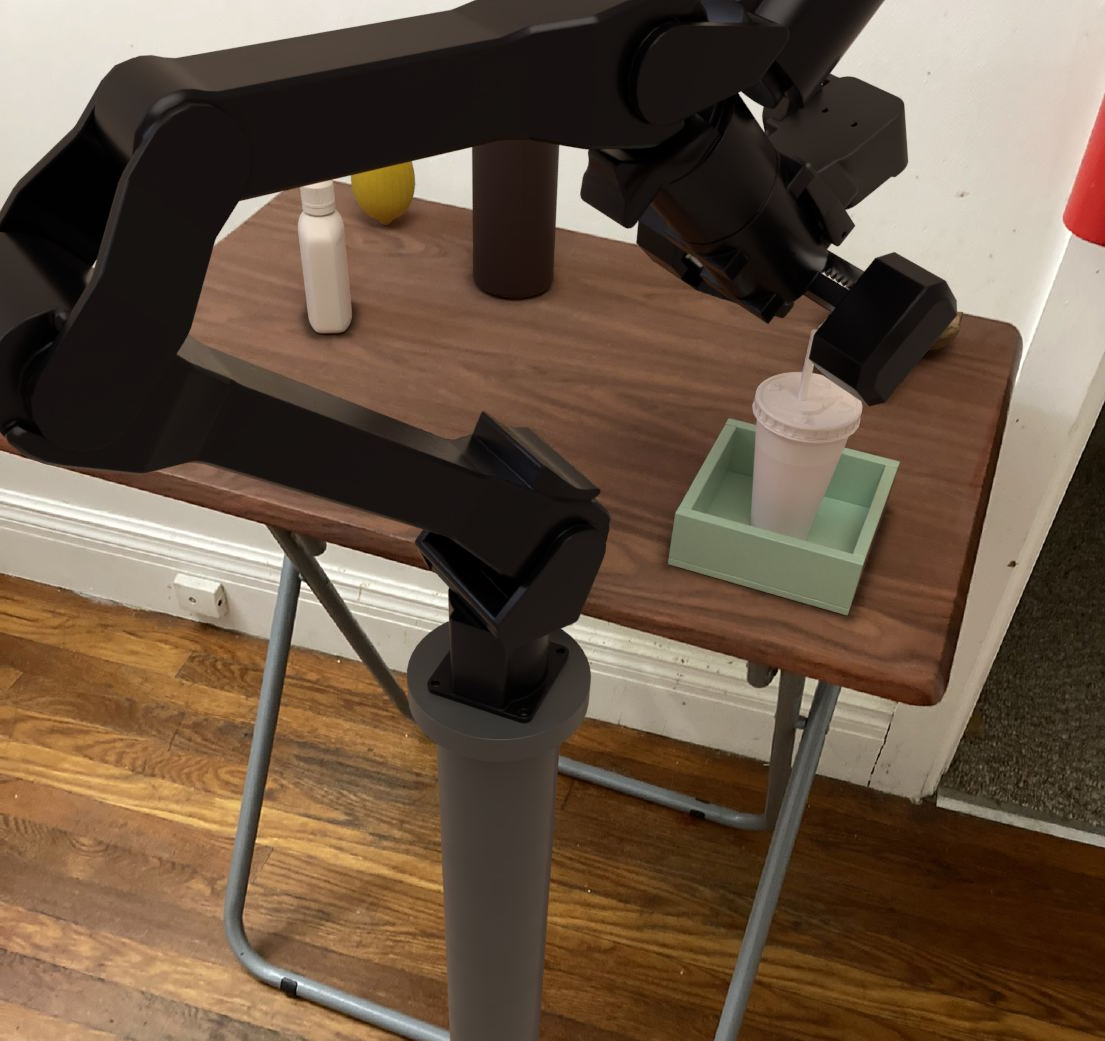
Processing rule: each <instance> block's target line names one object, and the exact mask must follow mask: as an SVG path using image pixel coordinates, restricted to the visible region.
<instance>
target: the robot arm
mask: <svg viewBox="0 0 1105 1041" xmlns="http://www.w3.org/2000/svg"><path fill="white" fill-rule="evenodd" d="M885 1H886V0H472V1H469V2H466V3H465V4H462V5H459V6H457V7H455V8H451V9H447V10H441V11H435V12H430V13H425V14H419V15H413V16H408V17H407V16H406V17H402V18H396V19H391V20H385V21H380V22H379V21H378V22H373V23H367V24H362V25H355V26H350V27H345V28H339V29H333V30H327V31H322V32H315V33H311V34H304V35H298V36H293V37H287V38H282V39H276V40H271V41H265V42H259V43H253V44H247V45H241V46H236V47H230V48H224V49H219V50H213V51H207V52H202V53H197V54H196V53H195V54H191V55H186V56H185V55H184V56H178V57H166V56H159V55H154V54H147V55H137V56H135V57H131V58H129V59H127V60H124V61H122V62H119V63H117V64H114V65H113V67H112V68H111V69H110V70H109V71H108V72H107V73H106V74H105V75H104V77H103V78H102V79H100V81H99V84H98V85H97V87H96V88H95V90H94V92H93V94H92V96H91V98H90V99H89V101H88V103H87V104H86V106H85V108H84V110H83V111H82V113H81V114H80V116H79V118H78V120H77V122H76V123H75V125H74V126H73V127H72V128H71V129H70V130H69V131H68V132H67V133H66V134H65V135H64V136H63V137H62V138H61V139H60V140H59V141H58V142H57V143H56V144H55V145H54V146H53V147H51V149H50V150H49V151H47V153H45V155H43V156H42V158H40V159H39V160H38V161H37V162H36V163H35V164H34V165H33V166H32V167H31V168H30V169H29V170H28V171H27V172H26V173H25V174H24V175H23V176H22V177H21V178H20V179H19V180H18V181H17V182H16V184H15V185H14V187H13V188H12V189H11V191H10V193H9V195H8V196H7V198H6V200H5V202H3V205H2V207H1V208H0V434H1V436H3V438H5V440H6V441H7V443H8V444H9V445H10V446H11V447H13V448H14V449H15V450H16V451H18V452H19V453H20V454H21V455H22V456H25V457H27V458H29V459H31V460H34V461H36V462H38V463H40V464H42V465H47V466H51V467H57V468H64V469H72V470H73V469H74V470H85V471H92V472H104V473H112V474H124V475H132V476H140V475H141V476H142V475H146V474H149V473H154V472H158V471H162V470H166V469H171V468H173V467H174V468H175V467H177V466H182V465H186V464H199V465H206V466H208V467H211V468H215V469H218V470H222V471H226V472H229V473H232V474H236V475H240V476H242V477H246V478H249V479H252V480H256V481H259V482H263V483H266V484H269V485H273V486H276V487H280V488H282V489H285V490H288V491H293V492H296V493H300V494H303V495H305V496H310V497H313V498H316V499H319V500H323V501H327V502H328V503H329V502H330V503H334V504H337V505H339V506H343V507H345V508H346V507H347V508H350V509H353V510H357V511H360V512H363V513H366V514H370V515H373V516H377V517H379V518H383V519H387V520H390V521H392V522H393V521H394V522H396V523H400V524H404V525H406V526H410V527H412V528H416V529H420V530H421V531H420V532H419V534H418V536H417V537H416V538H415V540H414V546H415V548H416V550H417V552H418V553H419V555H420V558H421V560H422V561H423V563H424V564H425V565H426V567H427V568H428V569H429V570H431V571H433V572H434V573H435V574H436V575H437V577H439V578H440V579H441V581H442V582H443V583H444V584H445V585H446V586H447V587H448V590H447V603H448V604H447V606H448V621H449V641H450V650H449V651H448V653H447V654H446V656H445V657H444V659H443V660H442V661H441V663H440V664H439V666H438V667H437V669H436V670H435V672H434V673H433V674H432V676H431V677H430V679H429V680H428V682H427V689H428V691H429V692H430V693H431V694H434V695H437V696H440V697H443V698H446V699H449V700H452V701H455V702H458V703H461V704H464V705H467V706H470V707H473V708H476V709H479V710H482V711H486V712H489V713H492V714H495V715H498V716H501V717H504V718H507V719H510V720H513V721H516V722H519V723H523V724H525V723H529V722H531V721H532V719H533V718H534V716H535V714H536V712H537V711H538V709H539V707H540V706H541V704H542V702H543V700H544V699H545V697H546V695H547V694H548V692H549V690H550V688H551V687H552V685H553V683H554V682H555V680H556V678H557V677H558V675H559V673H560V671H561V670H562V668H563V666H564V665H565V663H566V661H567V659H568V657H569V649H568V648H567V647H565V646H563V645H560V644H556V643H553V642H550V633H553V632H555V631H557V630H559V629H564V628H566V627H569V626H570V625H573V624H575V623H577V622H578V621H579V619H580V617H581V614H582V612H583V610H584V607H585V605H586V603H587V600H588V597H589V595H590V593H591V590H592V588H593V585H594V583H595V580H596V577H598V576H597V575H598V573H599V571H600V569H601V565H602V564H603V561H604V558H605V555H606V552H607V542H608V537H609V532H610V523H611V520H612V515H611V513H610V511H609V510H608V509H607V507H605V506H604V505H603V504H602V503H601V502H600V501H598V500H597V499H596V498H597V497H598V496H600V494H601V492H602V489H601V488H599V487H598V486H597V485H596V483H594V482H592V481H591V480H590V479H589V478H588V477H586V475H584V473H583V472H581V471H580V470H579V469H577V468H576V467H575V466H574V465H573V464H572V463H571V462H569V461H568V460H567V459H566V458H565V457H564V456H563V455H562V454H560V453H559V452H558V451H557V450H555V448H554V447H552V446H551V445H550V444H549V443H547V442H546V440H544V439H543V438H542V437H540V436H539V434H537V433H536V432H534V430H532V429H531V428H530V427H529V426H523V427H514V426H509V425H506V424H504V423H502V422H500V421H499V420H498V419H497V418H495V417H493V415H491V414H490V413H488V412H487V411H485V410H482V411H481V412H480V414H479V416H478V419H477V421H476V424H475V426H474V429H473V432H472V433H470V434H468V435H464V436H461V437H458V438H456V439H453V438H452V439H451V438H445V437H443V436H440V435H437V434H435V433H432V432H430V431H427V430H424V429H422V428H419V427H416V426H414V425H411V424H409V423H407V422H404V421H401V420H399V419H396V418H394V417H391V416H388V415H386V414H384V413H381V412H378V411H375V410H373V409H370V408H369V407H365V406H363V405H360V404H358V403H355V402H352V401H350V400H348V399H345V398H342V397H341V396H337V395H334V394H332V393H329V392H327V391H324V390H321V389H319V388H316V387H314V386H311V385H308V384H306V383H303V382H302V381H299V380H296V379H293V378H291V377H288V376H285V375H283V374H280V373H278V372H275V371H272V370H271V369H268V368H265V367H262V366H261V365H258V364H255V363H253V362H250V361H247V360H245V359H242V358H239V357H237V356H235V355H231V354H229V353H227V352H224V351H221V350H219V349H216V348H213V347H211V346H209V345H206V344H204V343H203V342H201V341H200V340H198V339H197V338H195V337H193V336H192V335H190V332H191V329H192V327H193V323H194V320H195V316H196V311H197V308H198V304H199V301H200V297H201V294H202V290H203V286H204V282H205V279H206V275H207V272H208V268H209V265H210V261H211V258H212V254H213V250H214V247H215V244H216V240H217V238H218V236H219V234H220V233H221V231H222V230H223V228H224V226H226V223H227V221H228V220H229V219H230V217H231V215H232V213H233V212H234V210H235V209H236V207H237V205H238V204H239V202H242V201H247V200H252V199H255V198H259V197H264V196H268V195H273V194H277V193H282V192H286V191H290V190H295V189H300V187H303V186H308V185H312V184H316V183H320V182H325V181H329V180H332V181H334V180H338V179H342V178H346V177H351V175H355V174H359V173H363V172H368V171H372V170H376V169H381V168H385V167H389V166H394V165H398V164H402V163H406V162H411V161H412V162H415V161H419V160H424V159H428V158H432V157H436V156H442V155H445V154H449V153H453V152H458V151H463V150H466V149H470V148H471V149H472V147H475V146H480V145H484V144H488V143H493V142H497V141H502V140H531V141H537V142H543V143H549V144H555V145H559V146H561V147H568V148H573V149H579V150H587V157H588V163H587V167H586V169H585V171H584V172H583V175H582V178H581V185H580V193H579V197H580V199H581V200H582V202H584V203H586V204H587V205H589V206H590V207H592V208H594V209H595V210H597V211H598V212H600V213H601V214H603V215H604V216H605V217H607V218H609V219H610V220H612V221H613V222H615V223H617V224H618V225H620V226H621V227H623V228H624V229H632V228H634V227H635V226H636V225H637V230H636V242H635V243H636V245H637V246H638V248H640V249H641V250H642V251H643V253H644V254H646V255H647V257H648V258H649V259H650V260H651V261H652V262H654V263H655V264H657V265H659V266H660V267H661V268H663V269H664V270H665V271H667V272H669V273H670V274H671V275H673V276H675V277H676V278H677V279H679V280H680V281H682V282H683V283H685V284H686V285H688V286H690V287H691V288H692V289H693V290H695V291H697V292H700V293H703V294H706V295H708V296H712V297H715V298H717V299H721V300H724V301H727V302H730V303H733V304H736V305H739V306H740V307H741V308H743V309H744V310H746V311H747V312H749V313H750V314H752V315H753V316H755V317H756V318H758V319H759V320H761V321H763V322H764V323H765V324H767V325H769V324H770V323H771V321H772V320H773V319H774V318H775V317H777V318H780V319H784V318H786V317H787V315H788V314H789V313H790V311H791V310H792V309H793V308H794V306H795V302H796V301H797V300H799V299H800V298H802V297H803V296H804V297H806V298H807V299H808V300H809V301H812V302H814V303H815V304H817V306H820V307H821V308H822V309H824V310H826V311H828V312H829V315H828V316H827V317H826V319H825V320H824V321H823V322H824V323H823V322H822V323H823V324H822V323H821V324H822V325H821V324H820V325H821V326H820V325H819V326H820V328H819V329H818V328H817V329H818V330H817V331H816V333H815V334H814V337H813V341H812V346H811V350H810V355H809V360H810V361H811V362H812V363H813V364H814V367H815V368H816V369H817V370H818V371H819V372H820V373H821V374H822V375H823V376H824V377H826V378H827V379H829V380H830V381H832V382H833V383H835V384H836V385H838V386H839V387H841V388H842V389H844V390H845V391H847V392H848V393H850V394H851V395H853V396H854V397H855V398H857V399H858V400H860V401H861V402H862V404H865V405H866V406H867V407H873V406H877V405H880V404H884V403H886V402H887V400H889V398H890V397H891V396H892V395H893V394H894V392H896V390H897V389H898V387H899V386H900V385H901V384H902V383H903V381H904V380H905V379H906V378H907V376H908V375H909V374H910V373H911V372H912V371H913V370H914V368H916V367H917V364H918V363H919V362H920V361H921V360H922V358H923V357H924V356H925V355H926V354H927V352H928V351H930V350H929V349H930V348H931V346H932V345H933V344H934V343H935V342H936V340H937V339H938V338H939V337H940V336H941V334H942V333H943V332H944V331H945V330H946V328H947V327H948V326H949V325H950V324H951V322H952V321H953V320H954V319H955V318H956V316H957V312H958V300H957V298H956V296H955V295H954V293H953V291H952V289H951V287H950V285H949V284H948V282H947V280H945V279H943V278H942V277H940V276H938V275H937V274H935V273H933V272H931V271H930V270H927V269H926V268H924V267H922V266H921V265H918V264H917V263H915V262H913V261H911V260H910V259H908V258H906V257H904V256H903V255H901V254H899V253H897V252H896V251H893V252H889V253H886V254H883V255H880V256H877V257H874V259H873V260H872V261H871V263H870V264H869V265H868V266H867V267H866V269H864V270H863V269H861V268H860V267H858V266H856V265H854V264H853V263H851V262H849V261H848V260H846V259H845V258H842V257H841V256H839V255H838V254H836V253H834V252H832V251H831V250H829V248H830V247H831V245H833V246H834V247H840V246H841V245H842V244H843V242H845V240H846V238H848V236H849V235H850V234H851V232H852V231H853V230H854V228H856V224H855V223H854V221H853V219H852V217H851V216H850V215H849V213H848V210H851V209H852V208H854V207H856V206H857V205H859V204H860V203H861V202H862V201H864V200H865V199H866V198H867V197H869V196H870V195H871V194H872V193H874V192H875V191H876V190H878V188H880V187H881V186H882V185H884V184H885V183H886V182H887V181H888V180H889V179H891V178H896V177H898V176H899V175H901V173H903V172H904V171H905V169H906V168H907V167H908V164H909V150H908V137H907V134H908V133H907V123H906V121H907V120H906V107H905V106H906V105H905V102H904V100H903V99H902V98H900V97H899V96H898V95H895V94H893V93H891V92H889V91H886V90H884V89H882V88H880V87H878V86H876V85H873V84H871V83H869V82H867V81H865V80H863V79H860V78H859V77H855V76H851V75H850V76H847V75H846V76H837V75H834V74H832V72H833V70H834V69H835V68H836V66H837V65H838V64H839V63H840V61H841V60H842V58H843V57H844V56H845V54H846V53H847V52H848V50H850V47H852V45H853V44H854V42H855V41H856V40H857V38H858V37H859V36H860V35H861V33H862V32H863V30H864V29H865V28H866V26H867V25H868V24H869V23H870V21H871V20H872V18H873V17H874V15H875V14H876V13H877V11H878V10H879V9H880V8H881V6H882V5H883V3H884V2H885ZM740 93H742V94H743V95H744V96H745V97H747V98H748V99H750V100H751V101H753V102H754V103H755V104H757V105H759V106H761V107H763V108H762V112H761V113H762V114H761V121H762V126H763V128H762V126H761V125H760V123H759V122H758V120H757V119H756V117H755V116H754V114H753V113H752V111H751V110H750V108H749V107H748V105H747V104H746V102H745V101H744V99H743V98H742V96H741V95H740ZM845 287H847V288H848V289H849V290H848V289H847V288H845ZM558 653H562V654H558ZM434 685H438V686H437V687H435V686H434ZM521 714H526V715H525V716H524V715H521Z"/></svg>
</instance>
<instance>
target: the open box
mask: <svg viewBox="0 0 1105 1041" xmlns="http://www.w3.org/2000/svg"><path fill="white" fill-rule="evenodd" d="M755 434H756V424H754V423H750V422H745V421H743V420H738V419H734V418H728V419H727V420H726V422H725V424H724V425H723V428H722V430H721V431H720V433H719V435H718V436H717V439H716V440H715V442H714V444H713V446H712V447H711V448H710V451H709V452H708V455H707V456H706V458H705V459H704V462H703V463H702V465H701V467H700V469H699V470H698V472H697V474H696V476H695V478H694V479H693V481H692V483H691V485H690V486H689V488H688V489H687V491H686V493H685V495H684V497H683V499H682V500H681V503H680V504H679V506H678V507H677V509H676V510H675V513H674V520H673V526H672V531H671V532H672V533H671V539H670V546H669V552H668V560H667V565H670V566H673V567H676V568H680V569H683V570H687V571H691V572H694V573H698V574H700V575H705V576H707V577H711V578H715V579H718V580H721V581H725V582H729V583H732V584H735V585H739V586H742V587H746V588H749V589H753V590H756V591H759V592H764V593H766V594H770V595H773V596H778V597H781V598H784V599H787V600H791V601H795V602H799V603H800V604H801V603H802V604H805V605H808V606H812V607H816V608H818V609H819V608H820V609H822V610H825V611H830V612H833V613H837V614H840V615H843V616H849V613H850V612H851V611H850V610H851V608H852V605H853V602H854V600H855V596H856V593H857V590H858V589H859V588H858V587H859V585H860V582H861V579H862V577H863V574H864V572H865V568H866V566H867V563H868V559H869V556H870V554H871V551H872V549H873V546H874V543H875V540H876V537H877V534H878V533H879V532H878V531H879V529H880V527H881V526H880V525H881V522H882V520H883V518H884V514H885V512H886V509H887V505H888V502H889V500H890V495H891V493H892V489H893V486H894V483H895V479H896V476H897V474H898V470H899V466H900V464H901V462H900V461H899V460H895V459H892V458H887V457H884V456H880V455H876V454H872V453H868V452H863V451H861V450H856V449H852V448H848V447H844V450H843V452H842V454H841V457H840V459H839V461H838V464H837V466H836V469H835V471H834V473H833V476H832V478H831V481H830V483H829V485H828V488H827V490H826V493H825V495H824V497H823V500H822V502H821V505H820V507H819V509H818V512H817V514H816V517H815V519H814V521H813V524H812V526H811V528H810V531H809V533H808V536H807V538H806V540H805V541H804V540H801V539H797V538H793V537H790V536H786V535H782V534H779V533H775V532H771V531H768V530H764V529H760V528H757V527H753V526H750V523H751V506H752V489H753V472H754V455H755Z"/></svg>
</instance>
